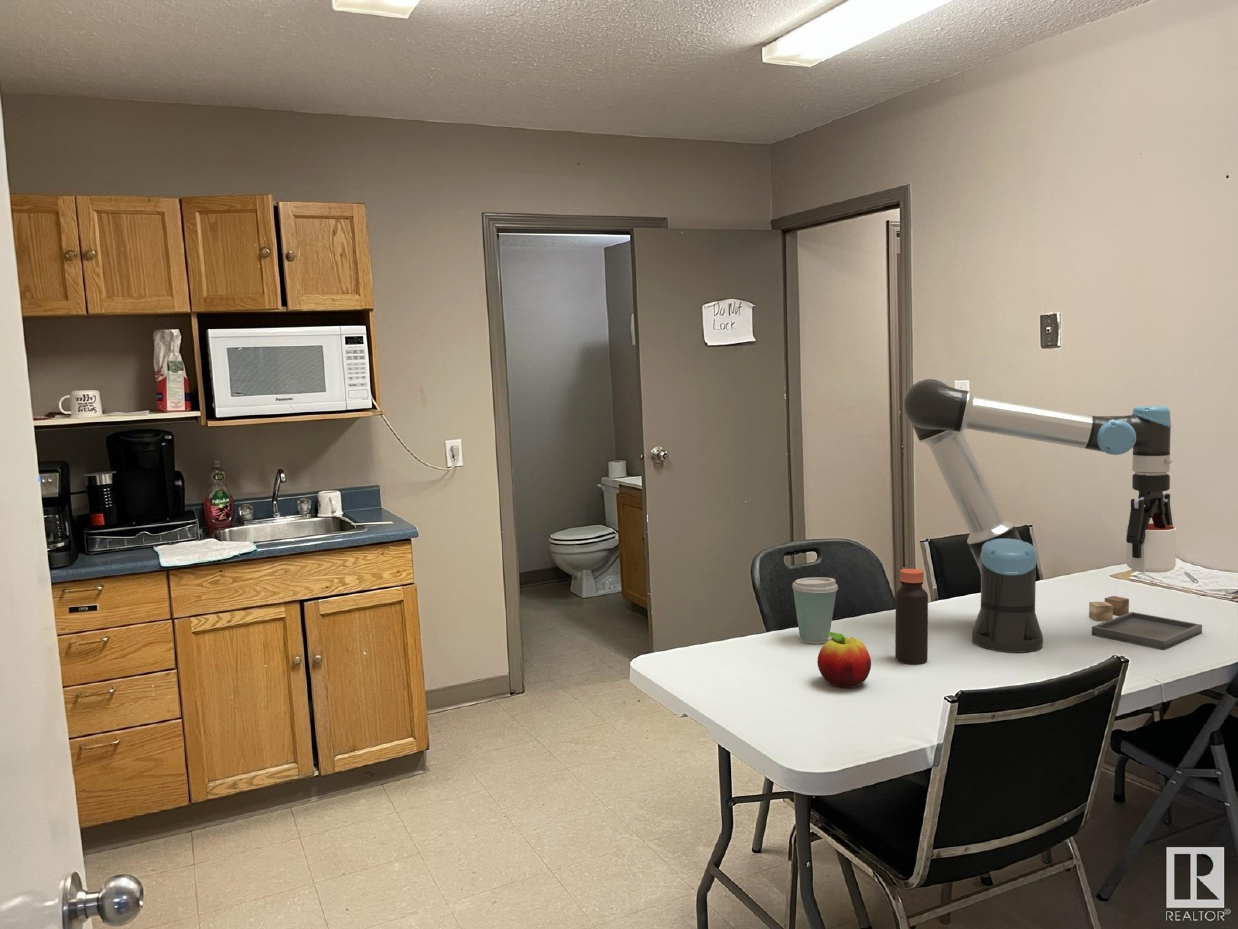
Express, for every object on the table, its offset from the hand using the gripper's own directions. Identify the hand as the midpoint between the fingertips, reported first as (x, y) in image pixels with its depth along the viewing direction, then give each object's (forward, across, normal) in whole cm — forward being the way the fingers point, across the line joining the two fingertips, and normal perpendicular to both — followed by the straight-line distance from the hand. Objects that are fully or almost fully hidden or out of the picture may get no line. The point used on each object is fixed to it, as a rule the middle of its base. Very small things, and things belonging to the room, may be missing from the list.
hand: (1149, 568), depth 215 cm
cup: (0, 0, 0) cm, 0 cm away
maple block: (+16, +6, +14) cm, 23 cm away
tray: (+16, +1, +1) cm, 16 cm away
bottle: (+16, -57, +24) cm, 63 cm away
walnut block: (+16, +14, +15) cm, 26 cm away
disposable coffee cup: (+15, -62, +48) cm, 79 cm away
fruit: (+15, -79, +23) cm, 84 cm away
